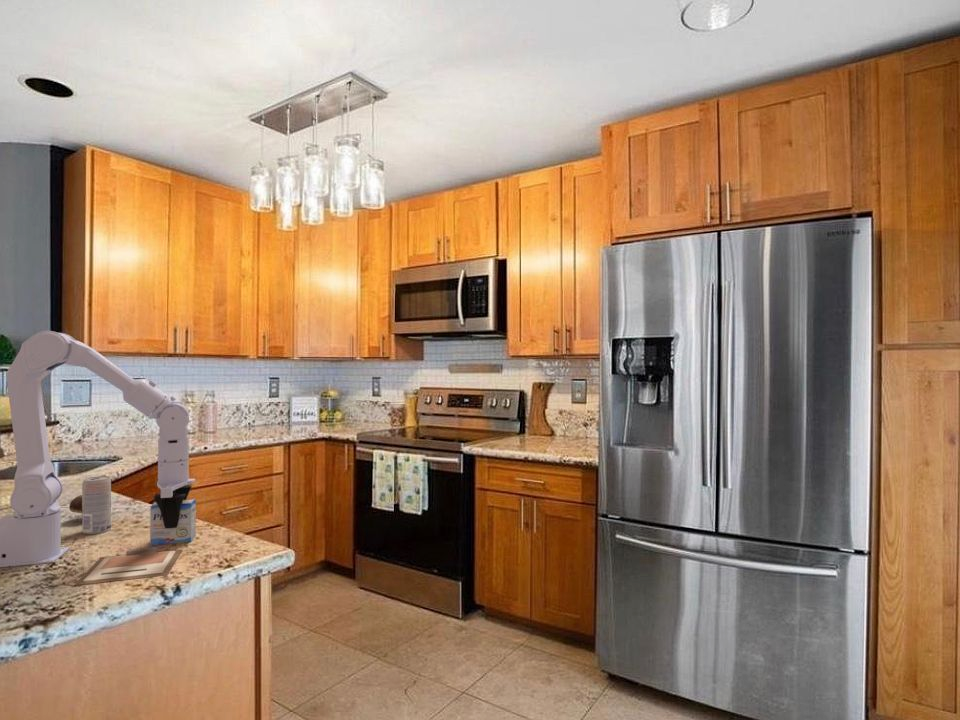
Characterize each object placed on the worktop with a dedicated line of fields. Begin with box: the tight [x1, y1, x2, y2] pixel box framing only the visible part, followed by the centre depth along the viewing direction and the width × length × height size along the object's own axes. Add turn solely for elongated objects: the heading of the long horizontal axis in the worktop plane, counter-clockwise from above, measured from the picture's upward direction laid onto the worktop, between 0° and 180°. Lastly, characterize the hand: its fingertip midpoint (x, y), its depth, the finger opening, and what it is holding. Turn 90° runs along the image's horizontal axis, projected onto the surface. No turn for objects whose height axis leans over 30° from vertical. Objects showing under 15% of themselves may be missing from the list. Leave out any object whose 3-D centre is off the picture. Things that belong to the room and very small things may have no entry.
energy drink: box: [81, 475, 112, 535], centre depth 127 cm, size 5×5×12 cm
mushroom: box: [68, 494, 82, 514], centre depth 136 cm, size 8×8×6 cm
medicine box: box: [149, 498, 197, 547], centre depth 119 cm, size 8×4×9 cm, turn 106°
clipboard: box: [73, 546, 183, 587], centre depth 104 cm, size 14×14×2 cm
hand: (173, 524), depth 119 cm, fingers closed on medicine box, 4 cm apart
